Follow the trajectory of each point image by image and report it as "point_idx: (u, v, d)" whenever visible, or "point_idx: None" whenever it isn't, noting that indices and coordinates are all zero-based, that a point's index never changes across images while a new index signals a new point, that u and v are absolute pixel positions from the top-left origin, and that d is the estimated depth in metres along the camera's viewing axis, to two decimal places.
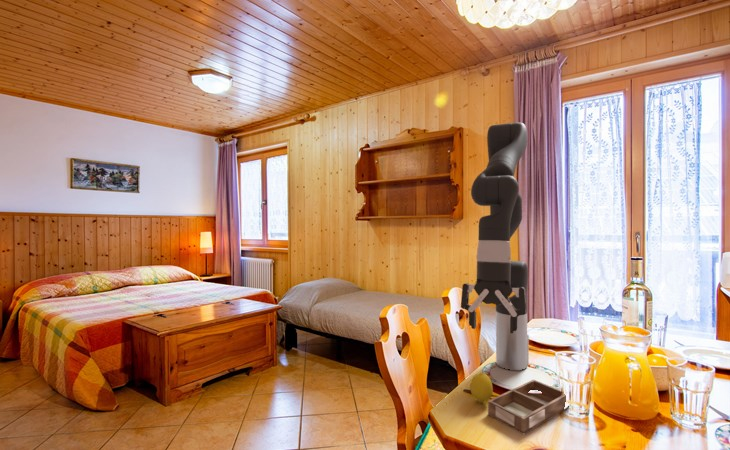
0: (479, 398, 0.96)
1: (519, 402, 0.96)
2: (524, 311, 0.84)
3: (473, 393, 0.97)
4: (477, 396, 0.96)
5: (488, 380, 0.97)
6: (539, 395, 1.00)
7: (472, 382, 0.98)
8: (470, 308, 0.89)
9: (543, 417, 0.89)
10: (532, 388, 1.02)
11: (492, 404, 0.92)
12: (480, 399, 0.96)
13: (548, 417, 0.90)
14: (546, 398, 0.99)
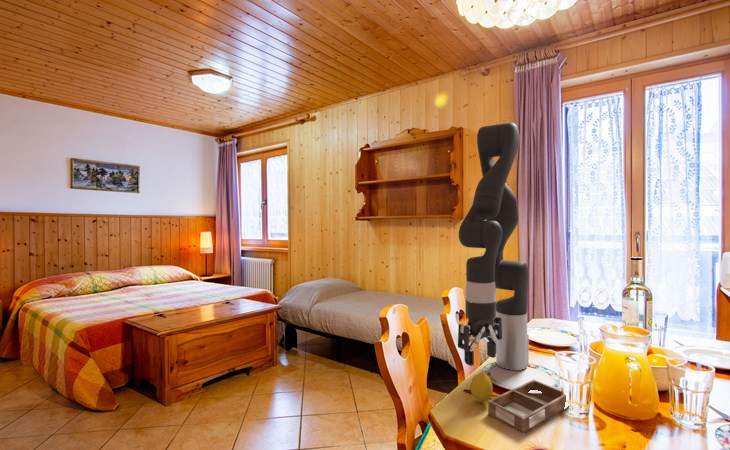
0: (479, 398, 0.96)
1: (519, 402, 0.96)
2: (501, 336, 1.00)
3: (473, 393, 0.97)
4: (477, 396, 0.96)
5: (488, 380, 0.97)
6: (539, 395, 1.00)
7: (472, 382, 0.98)
8: (471, 348, 0.94)
9: (543, 417, 0.89)
10: (532, 388, 1.02)
11: (492, 404, 0.92)
12: (480, 399, 0.96)
13: (548, 417, 0.90)
14: (546, 398, 0.99)
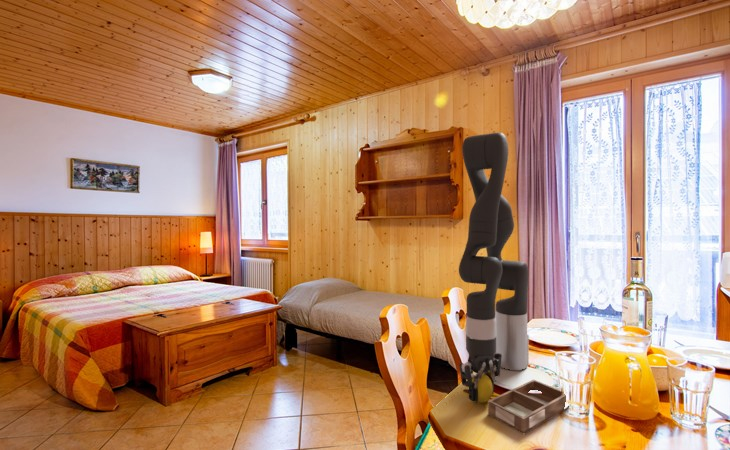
0: (479, 398, 0.96)
1: (519, 402, 0.96)
2: (499, 373, 1.00)
3: None
4: None
5: (488, 380, 0.97)
6: (539, 395, 1.00)
7: None
8: (475, 385, 0.95)
9: (543, 417, 0.89)
10: (532, 388, 1.02)
11: (492, 404, 0.92)
12: (480, 399, 0.96)
13: (548, 417, 0.90)
14: (546, 398, 0.99)
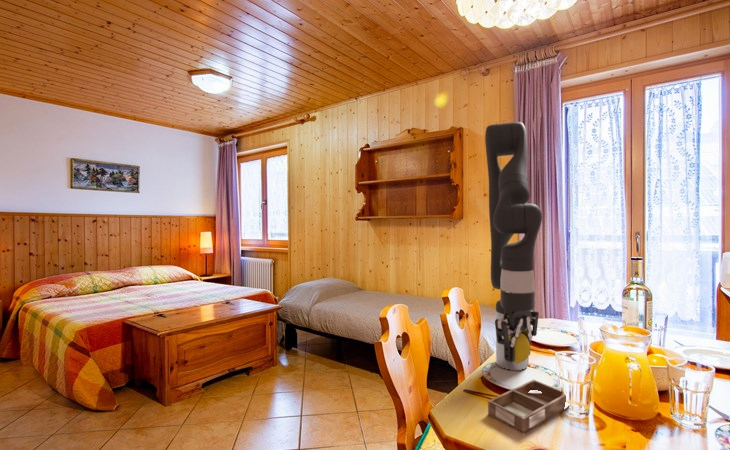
0: (516, 358, 0.89)
1: (519, 402, 0.96)
2: (536, 333, 0.93)
3: None
4: None
5: (525, 338, 0.89)
6: (539, 395, 1.00)
7: None
8: (512, 343, 0.88)
9: (543, 417, 0.89)
10: (532, 388, 1.02)
11: (492, 404, 0.92)
12: (517, 359, 0.89)
13: (548, 417, 0.90)
14: (546, 398, 0.99)
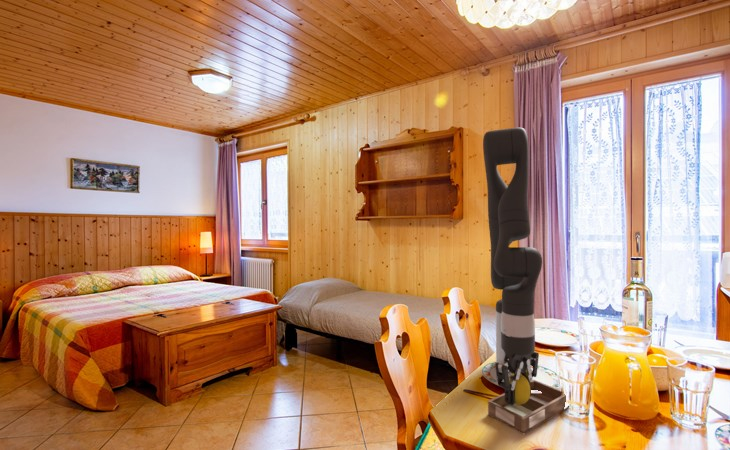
0: (517, 400, 0.89)
1: None
2: (536, 373, 0.93)
3: None
4: None
5: (526, 381, 0.90)
6: (539, 395, 1.00)
7: None
8: (512, 386, 0.88)
9: (543, 417, 0.89)
10: (532, 388, 1.02)
11: (492, 404, 0.92)
12: (517, 401, 0.89)
13: (548, 417, 0.90)
14: (546, 398, 0.99)
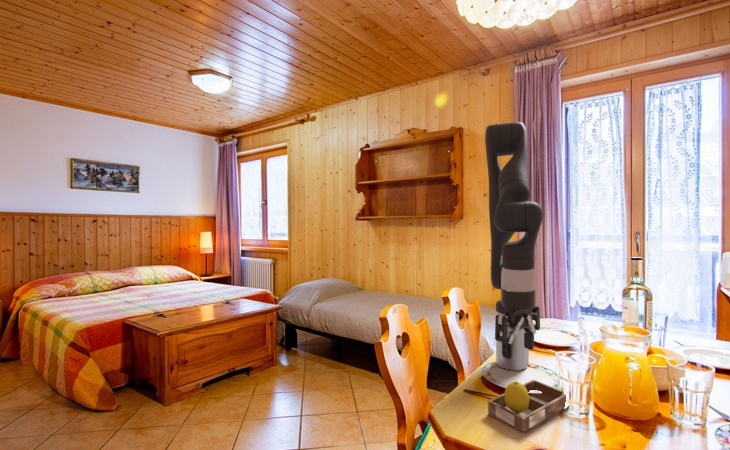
0: (516, 409, 0.89)
1: None
2: (539, 326, 0.93)
3: (508, 404, 0.90)
4: (513, 407, 0.89)
5: (524, 389, 0.90)
6: (539, 395, 1.00)
7: (507, 392, 0.91)
8: (510, 340, 0.87)
9: (543, 417, 0.89)
10: (532, 388, 1.02)
11: (492, 404, 0.92)
12: (517, 410, 0.89)
13: (548, 417, 0.90)
14: (546, 398, 0.99)
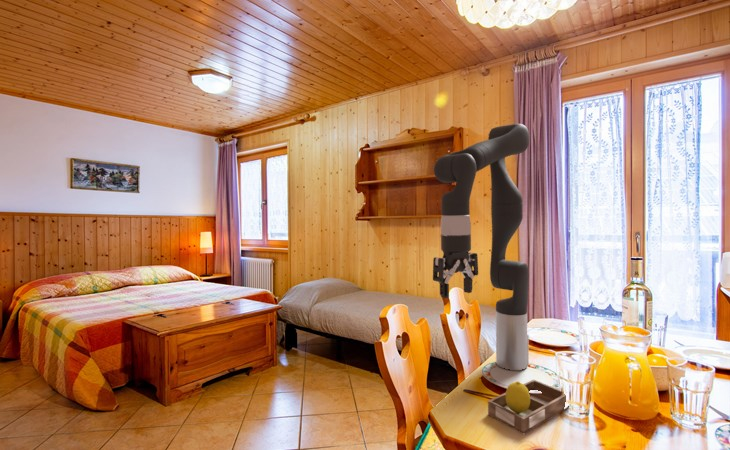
0: (517, 409, 0.89)
1: None
2: (477, 272, 1.01)
3: (509, 404, 0.90)
4: (514, 407, 0.89)
5: (526, 390, 0.90)
6: (539, 395, 1.00)
7: (508, 392, 0.91)
8: (446, 280, 0.95)
9: (543, 417, 0.89)
10: (532, 388, 1.02)
11: (492, 404, 0.92)
12: (517, 410, 0.89)
13: (548, 417, 0.90)
14: (546, 398, 0.99)
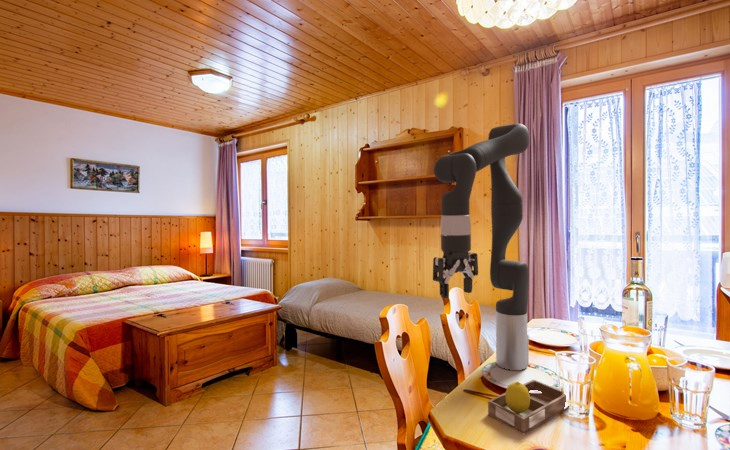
0: (517, 409, 0.89)
1: None
2: (477, 272, 1.01)
3: (509, 404, 0.90)
4: (514, 407, 0.89)
5: (526, 390, 0.90)
6: (539, 395, 1.00)
7: (508, 392, 0.91)
8: (446, 280, 0.95)
9: (543, 417, 0.89)
10: (532, 388, 1.02)
11: (492, 404, 0.92)
12: (517, 411, 0.89)
13: (548, 417, 0.90)
14: (546, 398, 0.99)
